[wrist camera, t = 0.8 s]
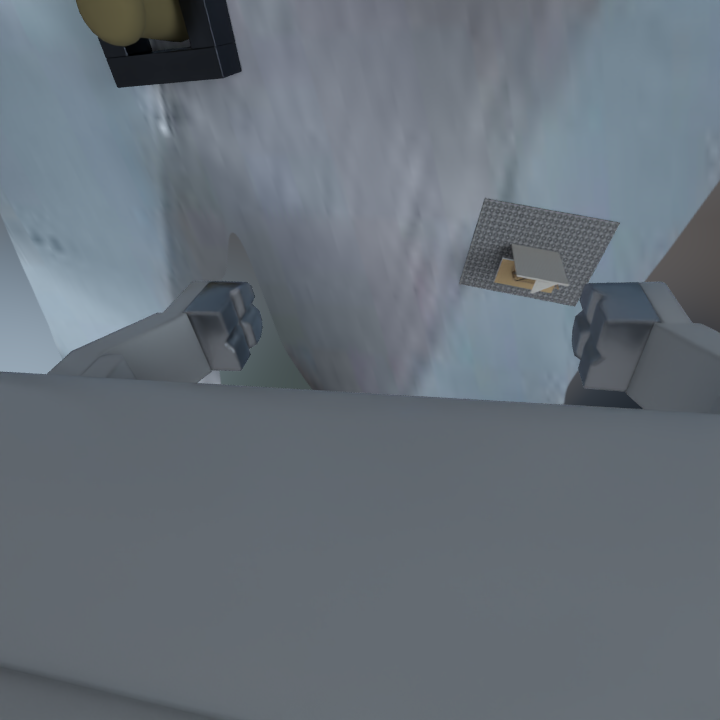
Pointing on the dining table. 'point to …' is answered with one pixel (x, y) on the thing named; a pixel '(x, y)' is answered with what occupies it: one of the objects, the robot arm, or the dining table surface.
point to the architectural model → (535, 251)
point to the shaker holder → (180, 51)
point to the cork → (134, 20)
